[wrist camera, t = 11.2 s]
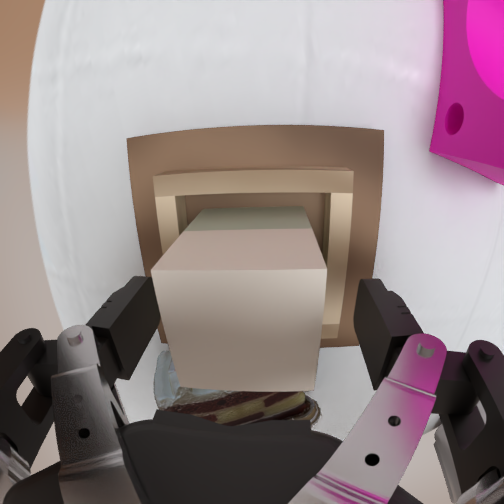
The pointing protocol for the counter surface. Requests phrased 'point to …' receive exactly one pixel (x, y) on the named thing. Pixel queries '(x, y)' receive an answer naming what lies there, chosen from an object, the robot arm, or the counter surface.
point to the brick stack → (244, 300)
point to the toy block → (472, 87)
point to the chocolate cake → (228, 401)
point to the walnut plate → (268, 195)
